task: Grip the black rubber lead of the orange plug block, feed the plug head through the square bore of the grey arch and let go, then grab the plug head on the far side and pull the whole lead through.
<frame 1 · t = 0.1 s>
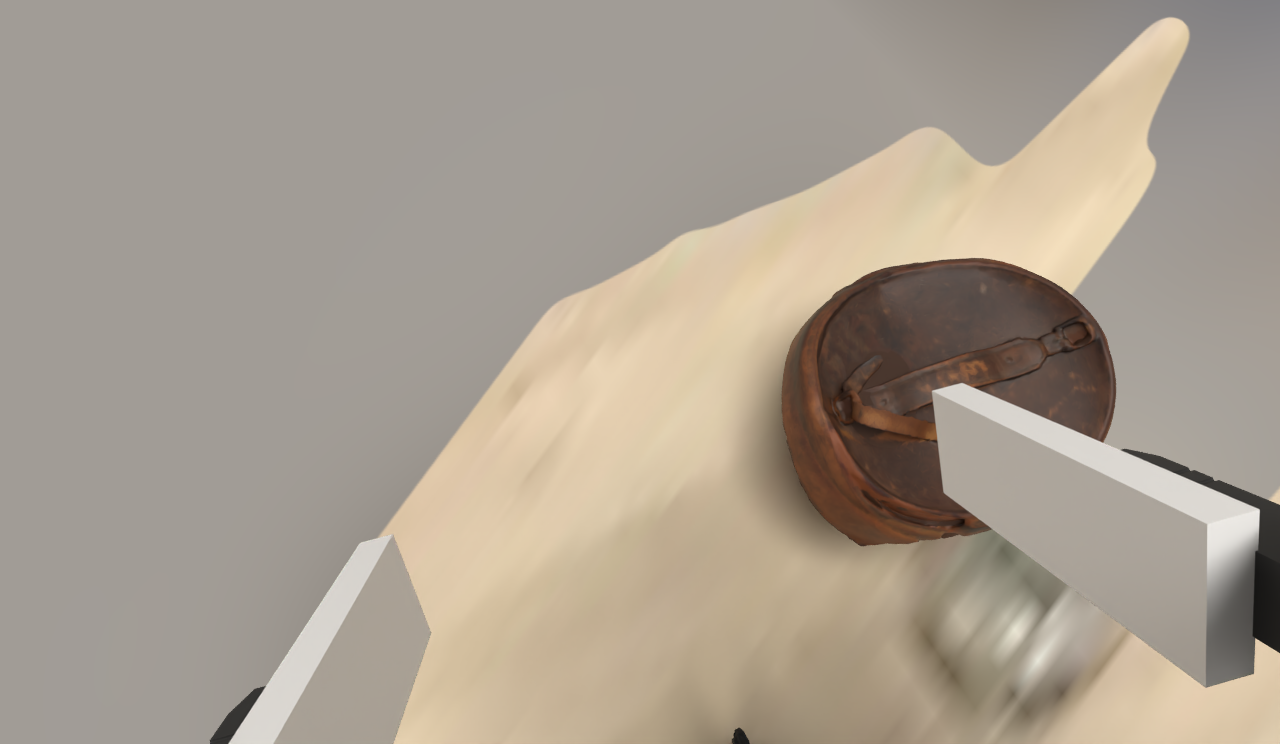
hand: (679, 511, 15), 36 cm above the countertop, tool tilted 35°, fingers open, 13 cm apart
case: (867, 445, 51), on the countertop
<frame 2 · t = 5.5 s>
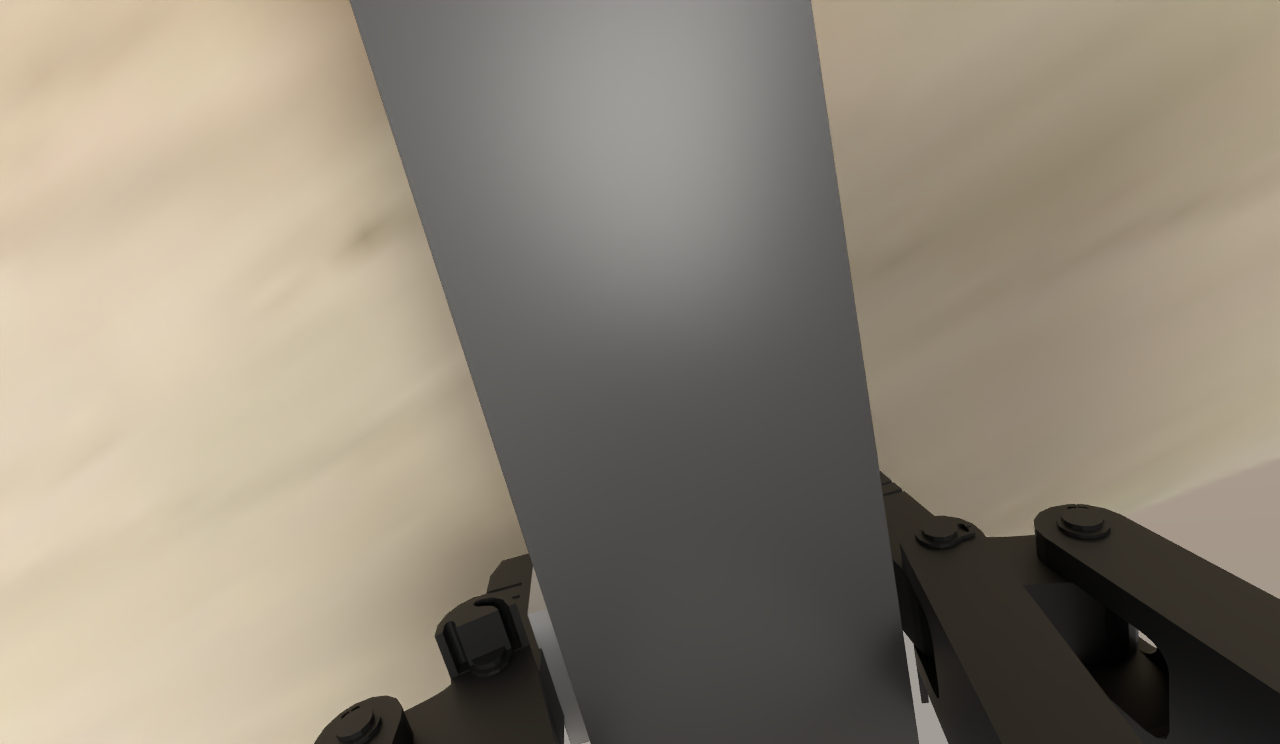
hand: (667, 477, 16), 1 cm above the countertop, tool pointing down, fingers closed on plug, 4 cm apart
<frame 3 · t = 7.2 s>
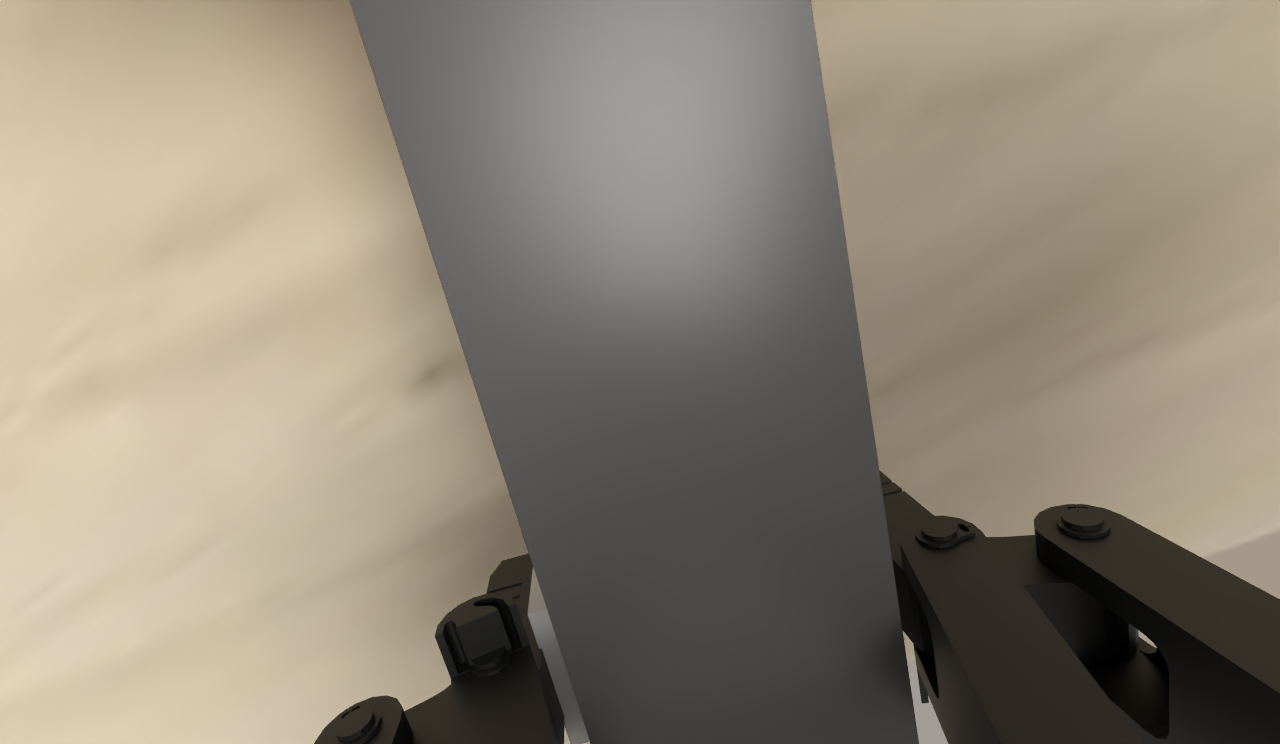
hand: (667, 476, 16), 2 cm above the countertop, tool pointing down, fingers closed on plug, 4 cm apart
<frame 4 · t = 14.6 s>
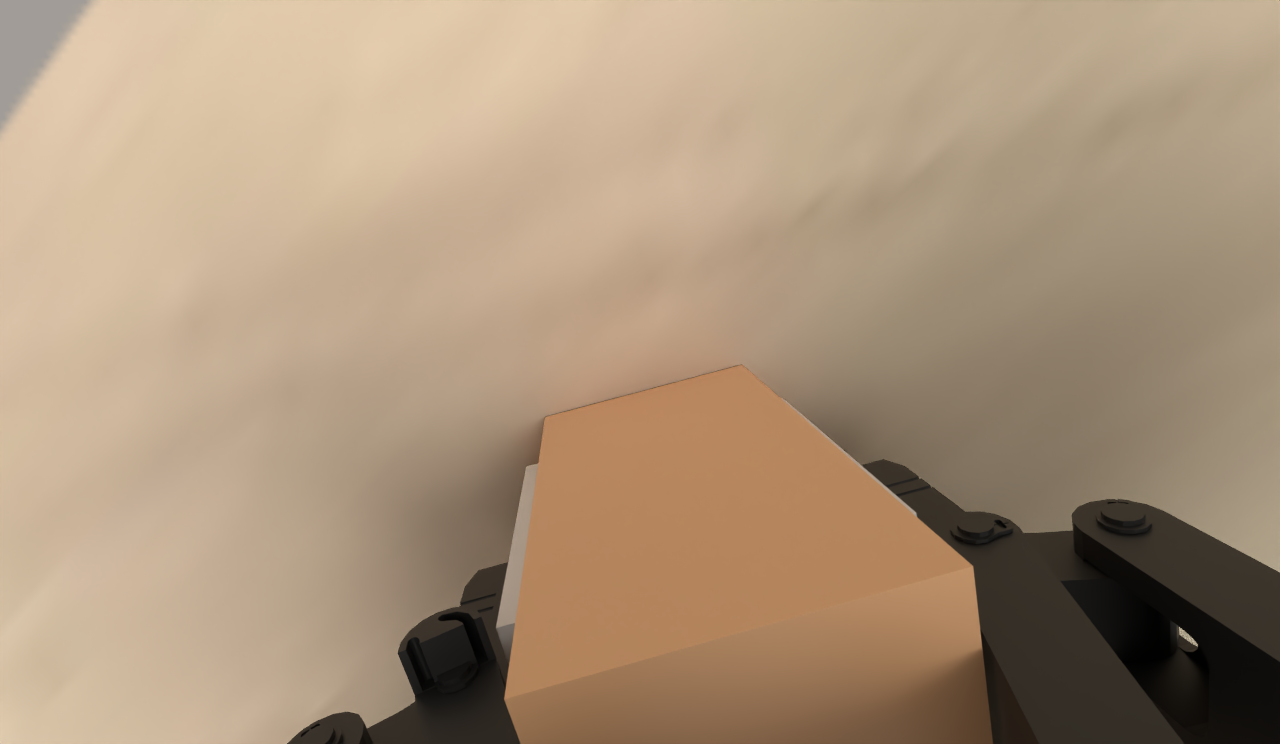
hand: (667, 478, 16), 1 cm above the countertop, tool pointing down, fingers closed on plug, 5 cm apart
plug: (667, 481, 17), on the countertop, touching gripper
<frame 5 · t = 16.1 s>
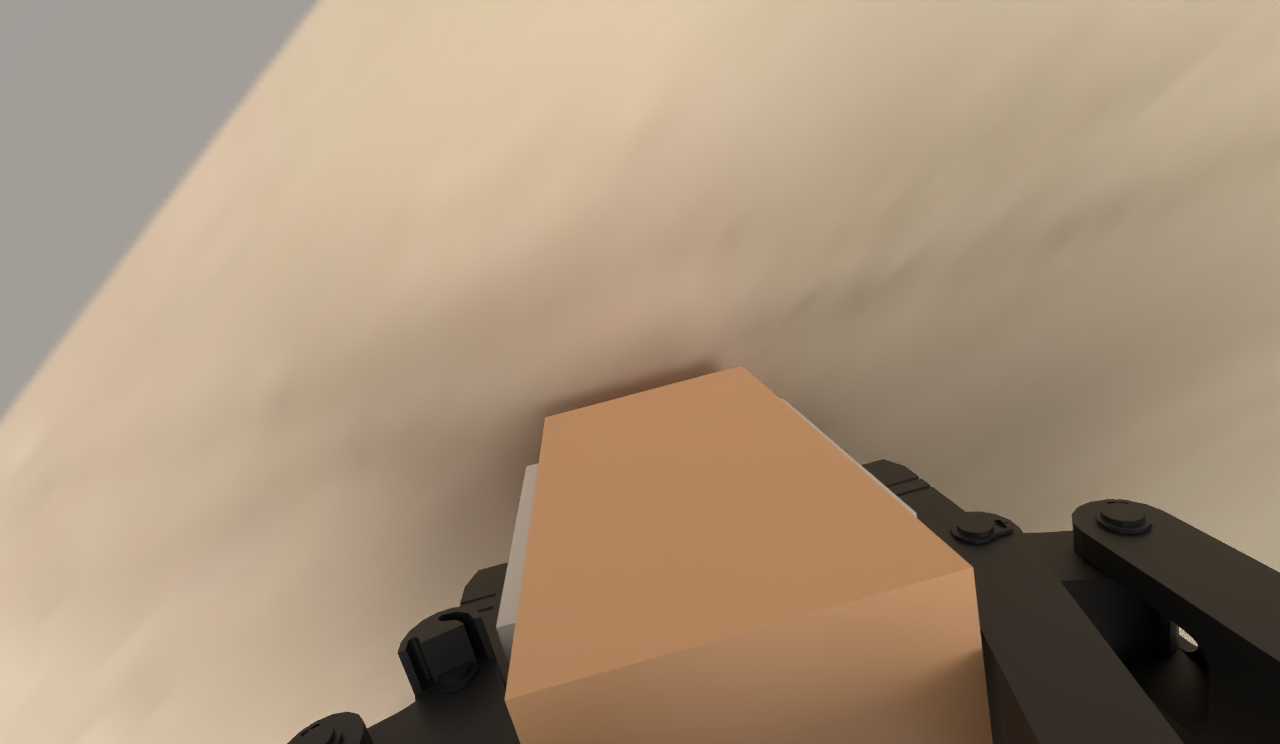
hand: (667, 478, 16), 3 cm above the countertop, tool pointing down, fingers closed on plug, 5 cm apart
plug: (667, 481, 17), point 2 cm above the countertop, touching gripper
when the fingers open (3 cm above the countertop, at t = 17.7 s): plug drops 2 cm, on the countertop.
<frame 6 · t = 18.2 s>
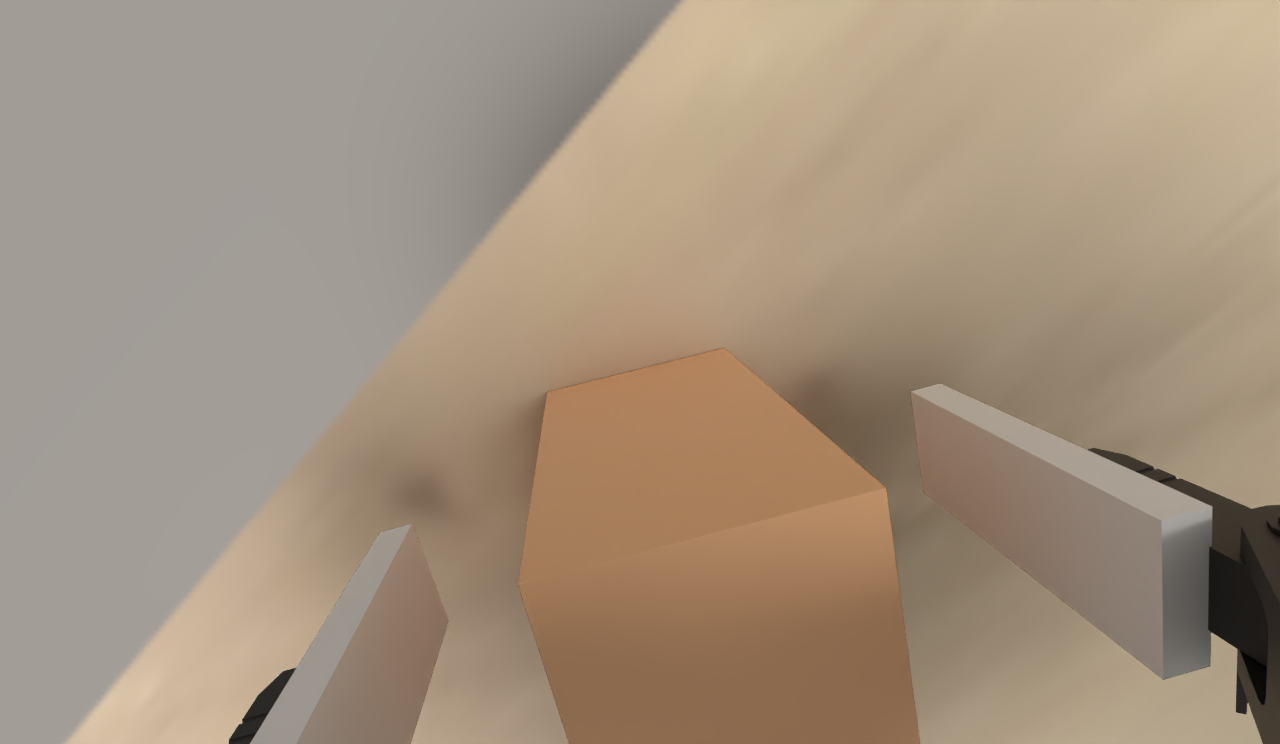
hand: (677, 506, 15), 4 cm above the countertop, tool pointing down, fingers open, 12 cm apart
plug: (656, 452, 19), on the countertop
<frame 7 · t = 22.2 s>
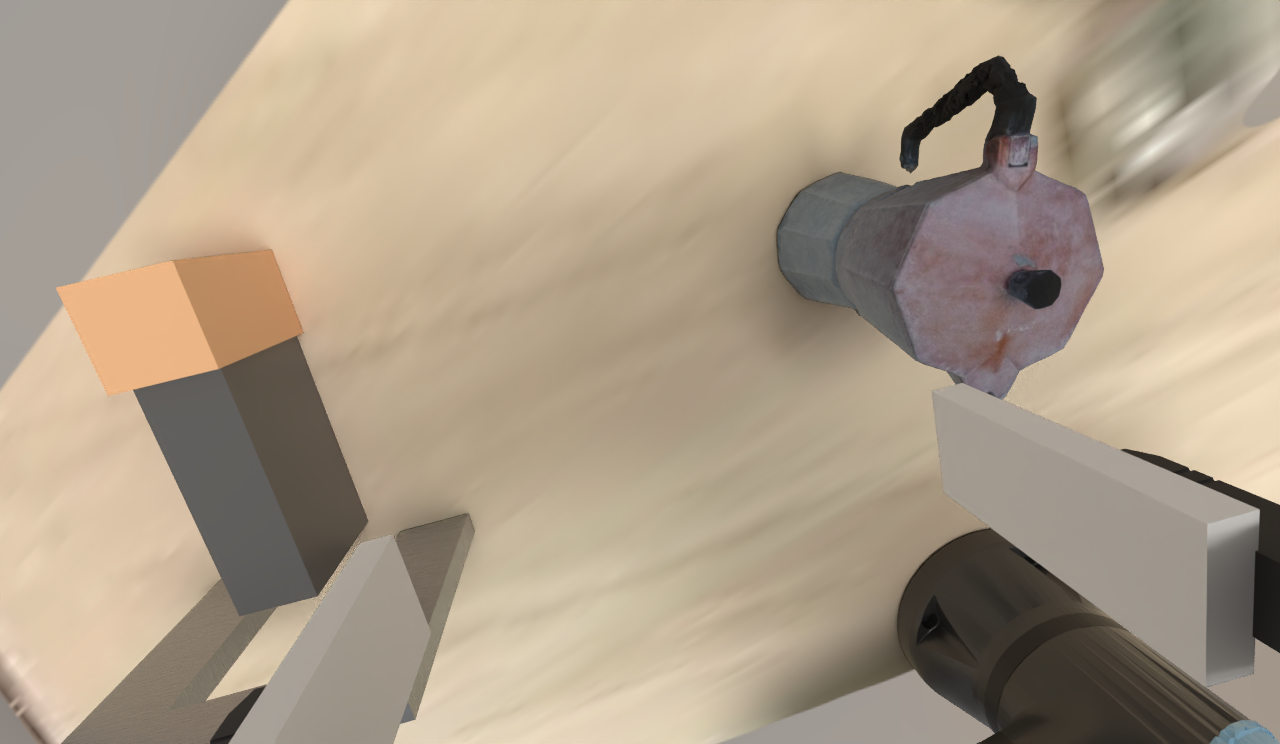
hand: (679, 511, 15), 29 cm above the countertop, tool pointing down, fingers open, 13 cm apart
plug: (245, 302, 40), on the countertop
grey arch: (349, 554, 44), on the countertop
moka pot: (832, 236, 43), on the countertop
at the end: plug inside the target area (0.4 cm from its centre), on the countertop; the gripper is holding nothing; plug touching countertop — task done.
